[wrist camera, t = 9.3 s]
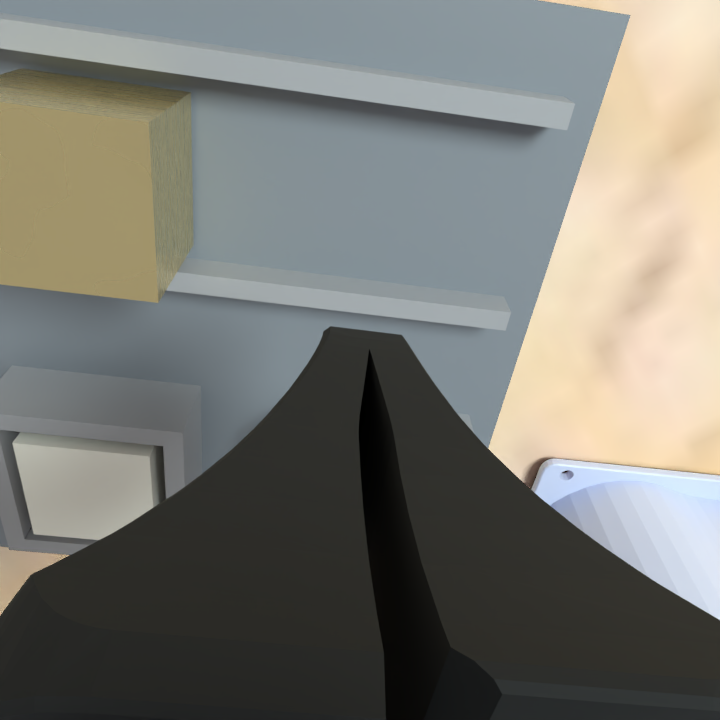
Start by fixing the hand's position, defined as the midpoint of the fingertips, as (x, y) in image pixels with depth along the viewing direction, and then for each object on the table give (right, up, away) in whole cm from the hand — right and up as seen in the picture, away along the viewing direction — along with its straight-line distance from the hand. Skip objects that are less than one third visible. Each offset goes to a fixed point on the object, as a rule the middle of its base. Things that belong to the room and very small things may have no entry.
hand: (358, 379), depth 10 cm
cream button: (-9, -3, +10) cm, 14 cm away
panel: (-4, +2, +10) cm, 11 cm away
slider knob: (-6, +5, +5) cm, 10 cm away
